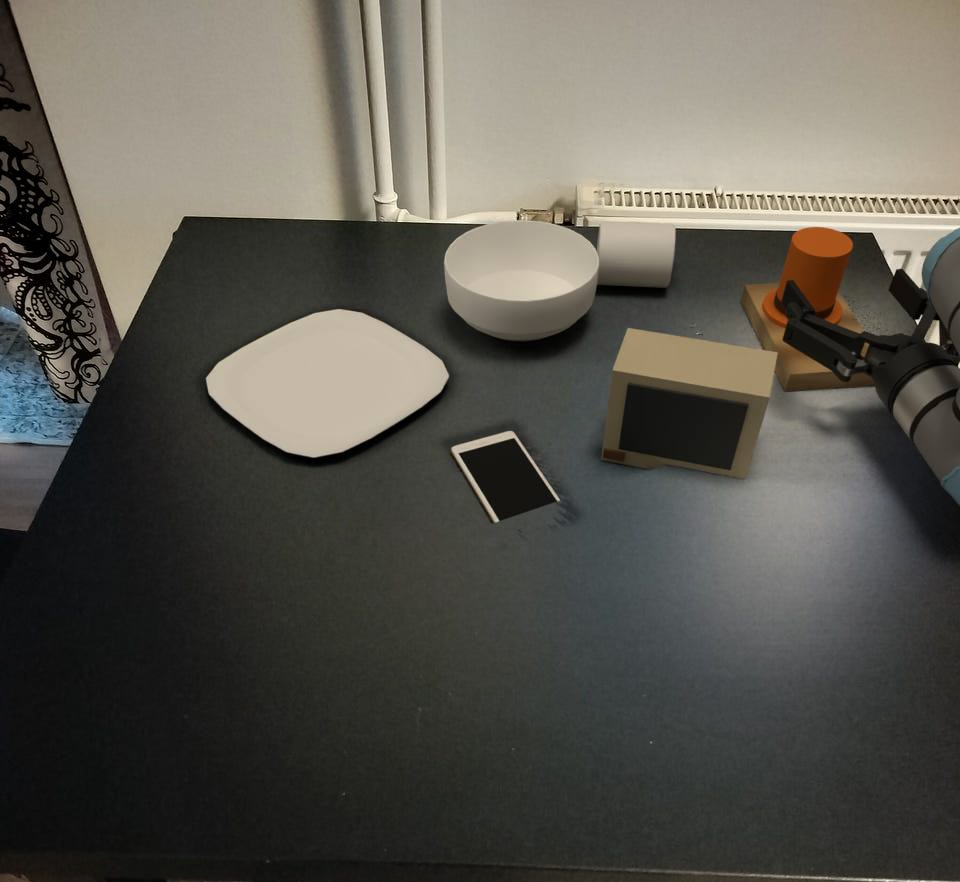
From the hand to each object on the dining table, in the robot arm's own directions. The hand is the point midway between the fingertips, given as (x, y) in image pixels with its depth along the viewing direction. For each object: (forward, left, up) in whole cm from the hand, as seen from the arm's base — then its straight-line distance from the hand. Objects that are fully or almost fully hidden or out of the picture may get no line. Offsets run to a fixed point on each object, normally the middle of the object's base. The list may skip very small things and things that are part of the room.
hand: (841, 284), depth 106 cm
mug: (+27, +11, -10) cm, 31 cm away
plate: (+21, +58, -10) cm, 63 cm away
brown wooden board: (+3, -1, -10) cm, 10 cm away
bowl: (+24, +30, -10) cm, 40 cm away
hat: (+6, -1, -7) cm, 9 cm away
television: (-8, +26, -10) cm, 29 cm away
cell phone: (-5, +46, -10) cm, 48 cm away
